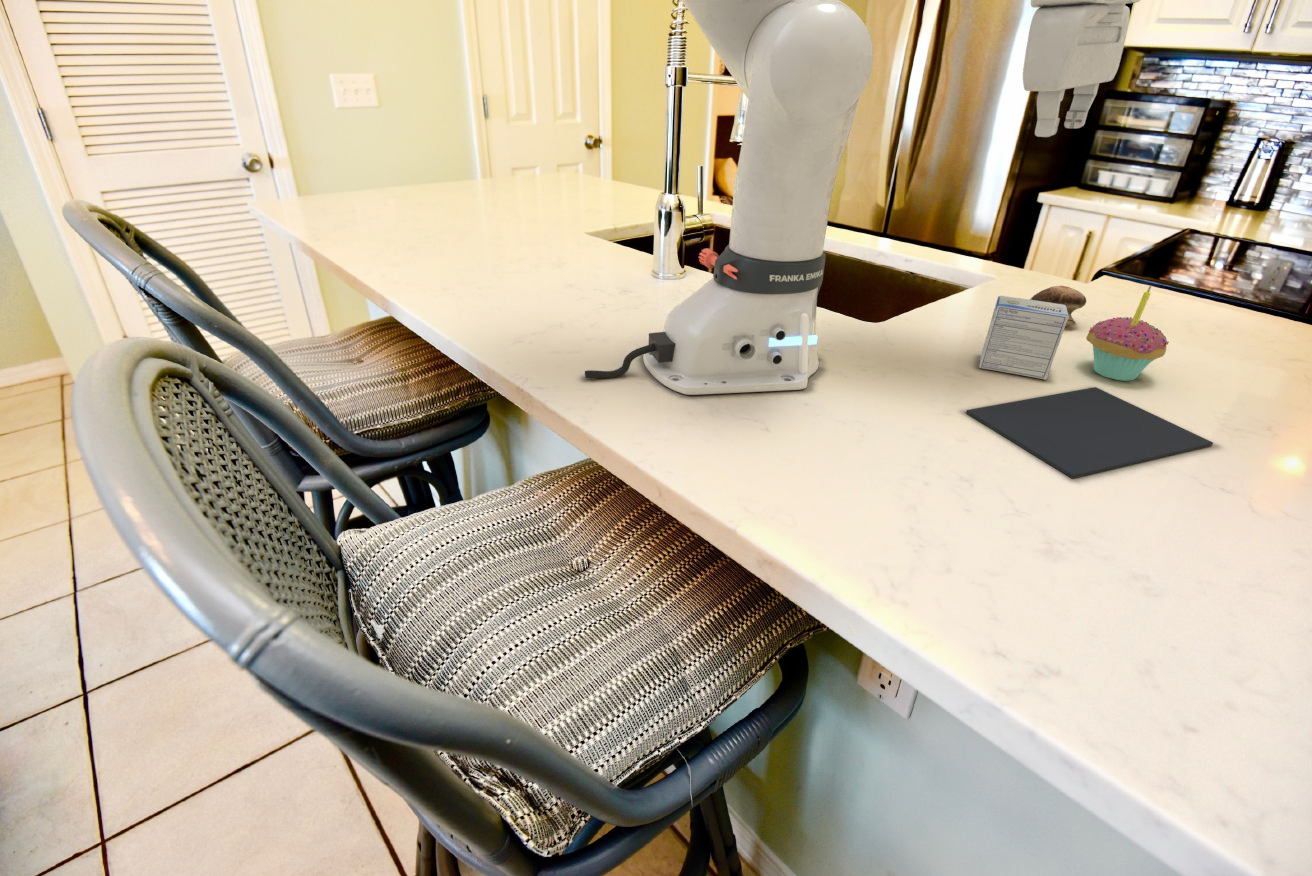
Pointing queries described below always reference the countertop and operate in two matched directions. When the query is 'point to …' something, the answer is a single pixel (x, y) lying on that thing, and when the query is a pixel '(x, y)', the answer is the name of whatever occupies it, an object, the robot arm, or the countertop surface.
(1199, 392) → the countertop surface
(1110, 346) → the cupcake
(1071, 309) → the mushroom
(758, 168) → the robot arm
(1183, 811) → the countertop surface
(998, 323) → the medicine box
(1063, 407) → the cloth
